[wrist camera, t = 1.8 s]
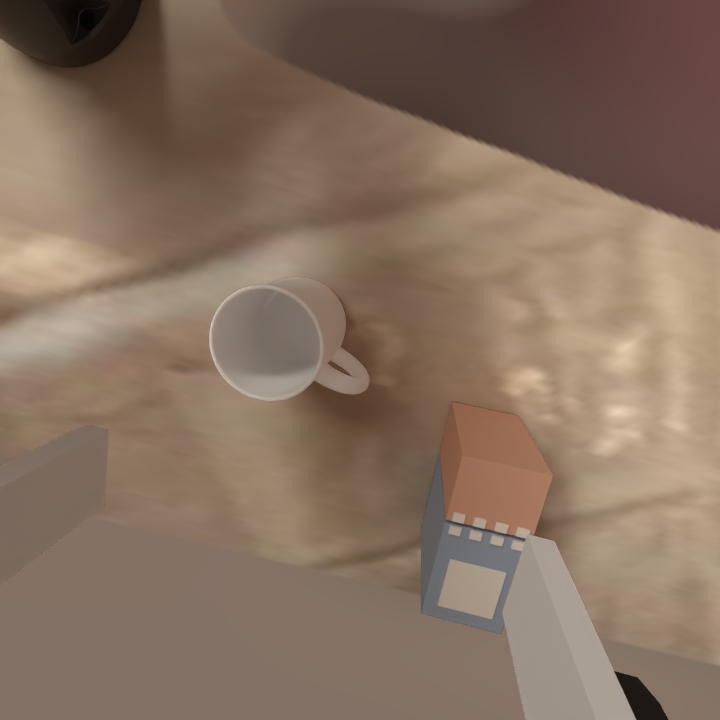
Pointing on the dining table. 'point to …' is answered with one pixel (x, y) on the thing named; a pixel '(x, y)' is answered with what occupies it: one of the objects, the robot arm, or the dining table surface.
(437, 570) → the toy oven block
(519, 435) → the stub
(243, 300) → the mug
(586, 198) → the dining table surface
